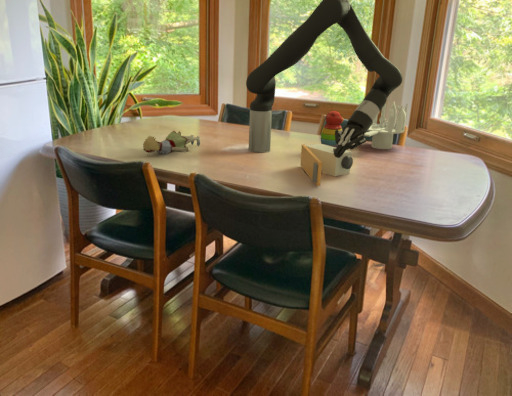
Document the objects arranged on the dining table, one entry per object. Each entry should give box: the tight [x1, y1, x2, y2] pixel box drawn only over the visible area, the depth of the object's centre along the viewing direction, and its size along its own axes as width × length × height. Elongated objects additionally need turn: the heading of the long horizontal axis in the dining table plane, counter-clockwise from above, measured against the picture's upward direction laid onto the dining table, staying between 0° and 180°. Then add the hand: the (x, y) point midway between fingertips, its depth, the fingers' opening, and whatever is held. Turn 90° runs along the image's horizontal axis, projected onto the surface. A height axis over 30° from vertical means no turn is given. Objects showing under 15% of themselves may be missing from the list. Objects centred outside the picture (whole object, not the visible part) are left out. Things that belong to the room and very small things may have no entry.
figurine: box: [142, 130, 201, 155], centre depth 192 cm, size 25×8×30 cm
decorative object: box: [364, 101, 408, 150], centre depth 206 cm, size 18×29×20 cm, turn 143°
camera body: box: [305, 142, 354, 177], centre depth 171 cm, size 17×8×9 cm, turn 38°
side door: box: [299, 144, 322, 187], centre depth 163 cm, size 26×2×8 cm, turn 7°
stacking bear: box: [320, 110, 345, 148], centre depth 197 cm, size 11×10×18 cm
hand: (336, 156), depth 156 cm, fingers closed
